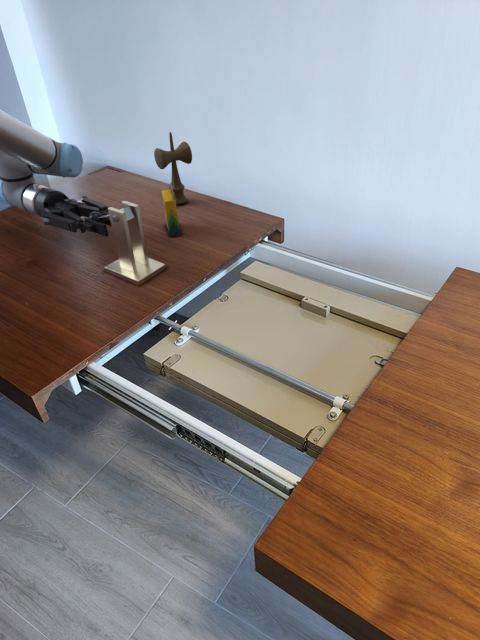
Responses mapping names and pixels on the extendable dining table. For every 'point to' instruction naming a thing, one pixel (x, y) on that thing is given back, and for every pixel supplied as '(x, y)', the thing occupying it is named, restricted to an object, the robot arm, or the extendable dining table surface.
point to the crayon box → (170, 212)
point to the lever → (100, 218)
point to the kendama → (174, 166)
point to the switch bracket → (131, 247)
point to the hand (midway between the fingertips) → (113, 227)
